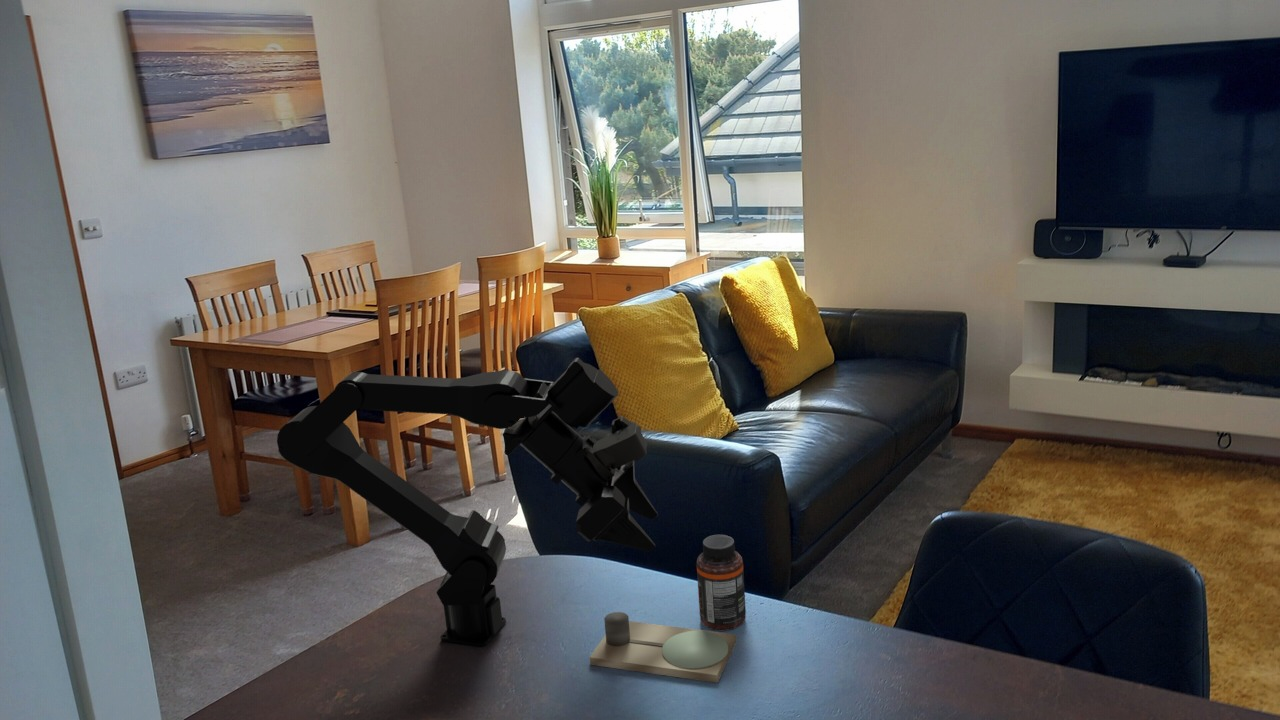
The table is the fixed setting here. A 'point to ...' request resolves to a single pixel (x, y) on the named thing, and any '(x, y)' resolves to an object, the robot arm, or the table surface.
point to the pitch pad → (695, 649)
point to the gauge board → (649, 649)
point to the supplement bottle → (721, 584)
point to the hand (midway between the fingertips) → (654, 532)
